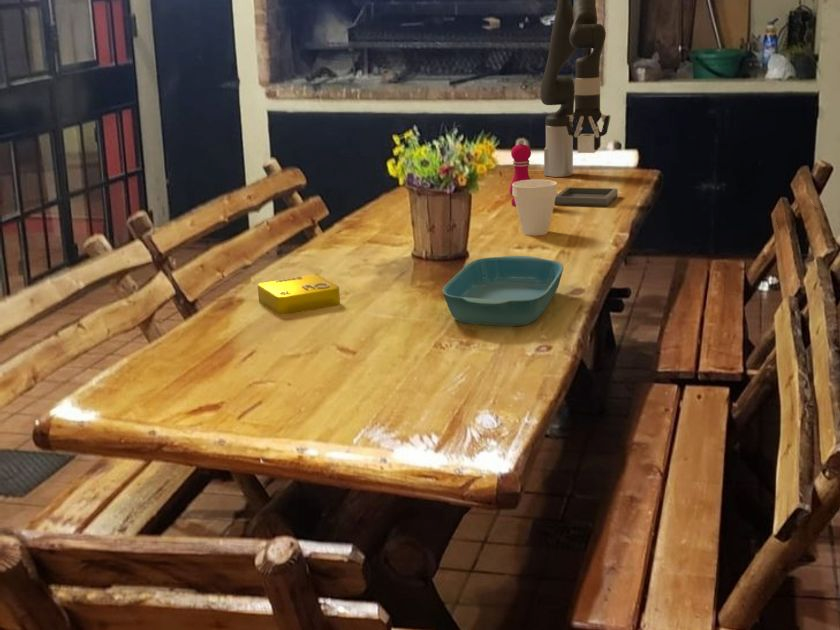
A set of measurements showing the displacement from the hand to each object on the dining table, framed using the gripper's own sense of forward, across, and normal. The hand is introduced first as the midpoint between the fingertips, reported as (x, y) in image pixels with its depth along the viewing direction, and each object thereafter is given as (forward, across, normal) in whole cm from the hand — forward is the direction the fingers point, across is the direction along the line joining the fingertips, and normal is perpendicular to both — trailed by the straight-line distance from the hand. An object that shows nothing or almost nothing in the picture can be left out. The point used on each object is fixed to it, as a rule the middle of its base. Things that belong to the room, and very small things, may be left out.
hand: (587, 149), depth 352 cm
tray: (+16, 0, 0) cm, 16 cm away
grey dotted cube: (+1, 0, 0) cm, 1 cm away
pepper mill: (+16, +18, +9) cm, 26 cm away
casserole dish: (+17, -7, +115) cm, 116 cm away
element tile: (+17, +39, +122) cm, 129 cm away
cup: (+16, +5, +45) cm, 48 cm away
